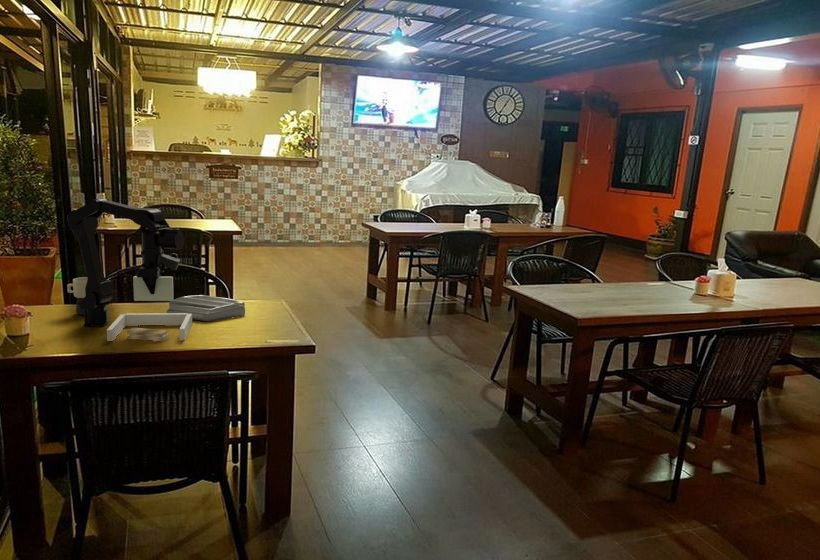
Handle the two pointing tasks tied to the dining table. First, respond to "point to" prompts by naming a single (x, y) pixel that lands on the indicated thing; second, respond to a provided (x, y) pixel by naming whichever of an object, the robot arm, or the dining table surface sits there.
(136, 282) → the pale green rectangular slab
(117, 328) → the rack
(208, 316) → the emblem
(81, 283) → the character mug
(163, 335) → the offcut stack
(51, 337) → the dining table surface
